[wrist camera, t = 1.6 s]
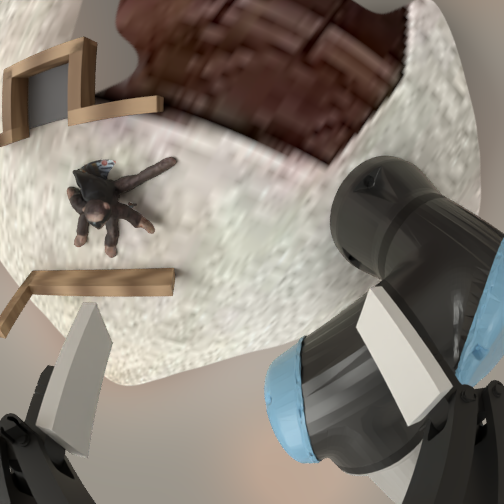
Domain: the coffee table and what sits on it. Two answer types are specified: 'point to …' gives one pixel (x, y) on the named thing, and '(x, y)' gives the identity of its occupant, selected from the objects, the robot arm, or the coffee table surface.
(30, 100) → the mat
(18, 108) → the wooden rail pieces
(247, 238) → the coffee table surface
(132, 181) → the stuffed animal
